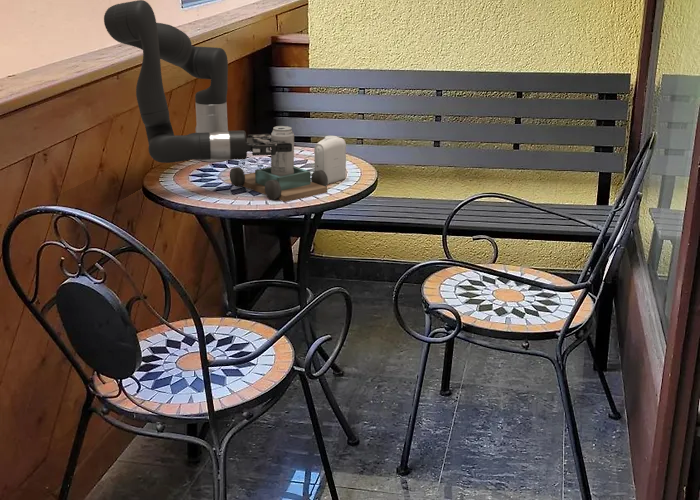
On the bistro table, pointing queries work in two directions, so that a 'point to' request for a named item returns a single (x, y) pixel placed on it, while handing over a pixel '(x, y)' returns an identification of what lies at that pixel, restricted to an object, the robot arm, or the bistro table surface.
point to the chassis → (282, 183)
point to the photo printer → (331, 158)
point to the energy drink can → (282, 160)
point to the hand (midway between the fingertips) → (289, 143)
